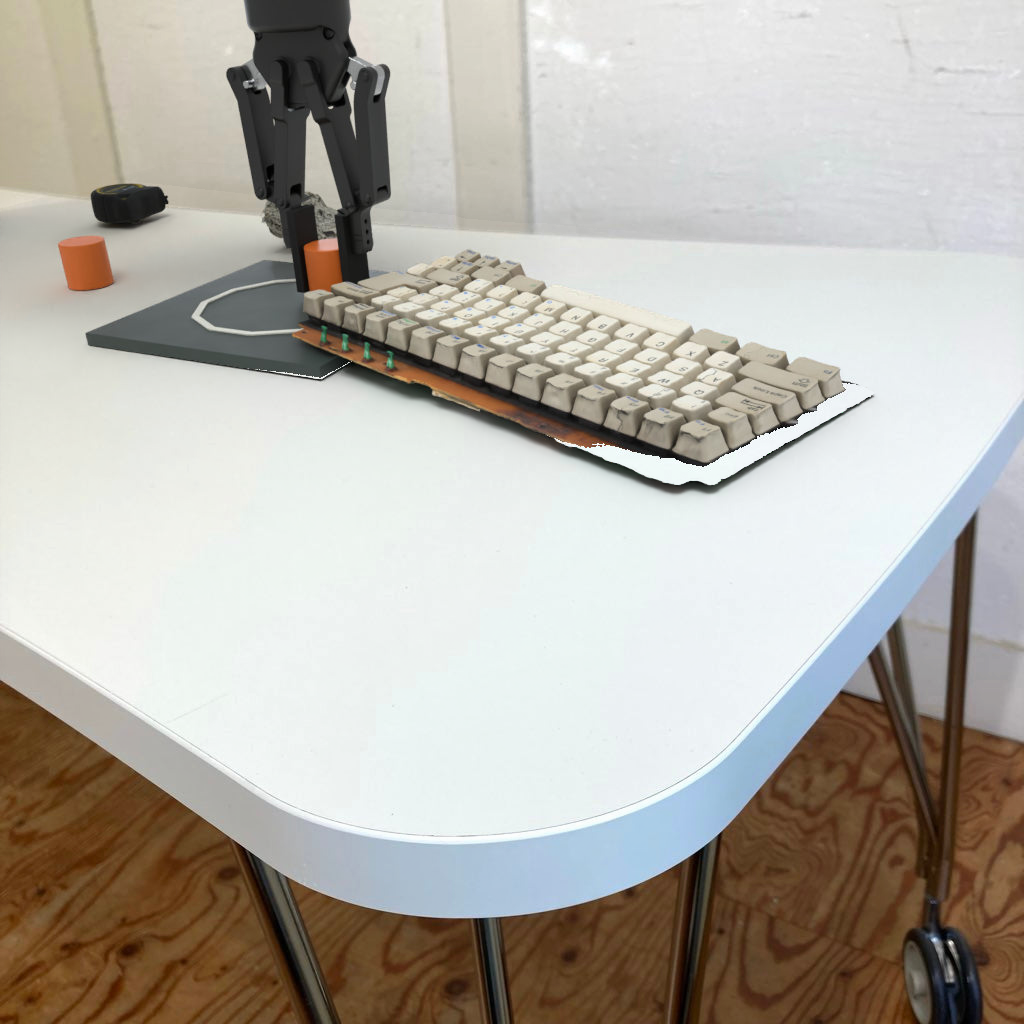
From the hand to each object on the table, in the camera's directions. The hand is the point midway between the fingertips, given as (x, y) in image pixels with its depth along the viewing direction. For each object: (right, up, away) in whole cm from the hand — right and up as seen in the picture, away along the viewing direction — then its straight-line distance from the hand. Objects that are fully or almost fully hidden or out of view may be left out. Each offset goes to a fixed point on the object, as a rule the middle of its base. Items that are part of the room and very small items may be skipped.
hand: (334, 289), depth 87 cm
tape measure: (-28, +15, +34) cm, 46 cm away
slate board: (-4, -2, -1) cm, 4 cm away
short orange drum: (0, 0, 0) cm, 0 cm away
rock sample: (-4, +9, +21) cm, 23 cm away
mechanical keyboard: (+17, -8, -14) cm, 24 cm away
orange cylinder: (-24, +3, +11) cm, 27 cm away
